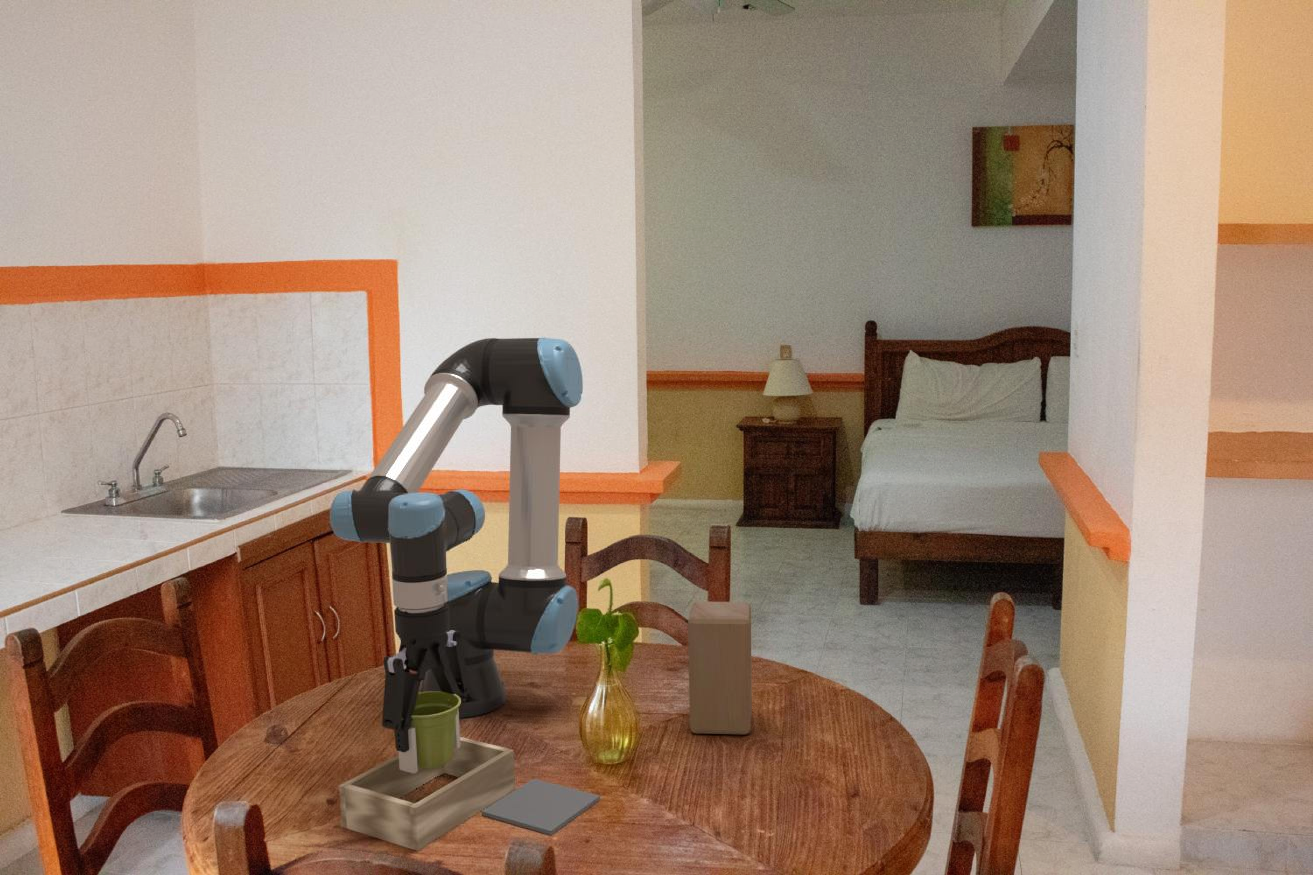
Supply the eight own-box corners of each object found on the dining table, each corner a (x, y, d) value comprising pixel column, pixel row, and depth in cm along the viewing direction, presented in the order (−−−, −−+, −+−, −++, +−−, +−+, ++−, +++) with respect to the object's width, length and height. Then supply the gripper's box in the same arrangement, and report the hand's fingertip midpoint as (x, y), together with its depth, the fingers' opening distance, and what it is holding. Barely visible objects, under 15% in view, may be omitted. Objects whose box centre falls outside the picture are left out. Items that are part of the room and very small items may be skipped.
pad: (481, 815, 161) (481, 811, 161) (533, 782, 171) (533, 778, 171) (551, 835, 155) (551, 830, 155) (600, 799, 165) (600, 795, 165)
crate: (341, 826, 159) (339, 785, 158) (443, 769, 176) (441, 731, 176) (417, 850, 152) (415, 808, 151) (515, 788, 169) (514, 749, 169)
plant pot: (392, 753, 166) (388, 696, 165) (457, 741, 169) (454, 686, 168) (402, 780, 158) (398, 720, 156) (470, 767, 161) (466, 709, 159)
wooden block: (751, 713, 197) (750, 600, 194) (750, 736, 187) (749, 618, 184) (693, 712, 198) (691, 599, 195) (689, 735, 188) (687, 617, 185)
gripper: (387, 631, 149) (398, 794, 153) (490, 588, 167) (497, 735, 171) (345, 622, 153) (357, 782, 156) (451, 581, 171) (459, 725, 174)
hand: (430, 757), depth 163 cm, fingers closed on plant pot, 8 cm apart
